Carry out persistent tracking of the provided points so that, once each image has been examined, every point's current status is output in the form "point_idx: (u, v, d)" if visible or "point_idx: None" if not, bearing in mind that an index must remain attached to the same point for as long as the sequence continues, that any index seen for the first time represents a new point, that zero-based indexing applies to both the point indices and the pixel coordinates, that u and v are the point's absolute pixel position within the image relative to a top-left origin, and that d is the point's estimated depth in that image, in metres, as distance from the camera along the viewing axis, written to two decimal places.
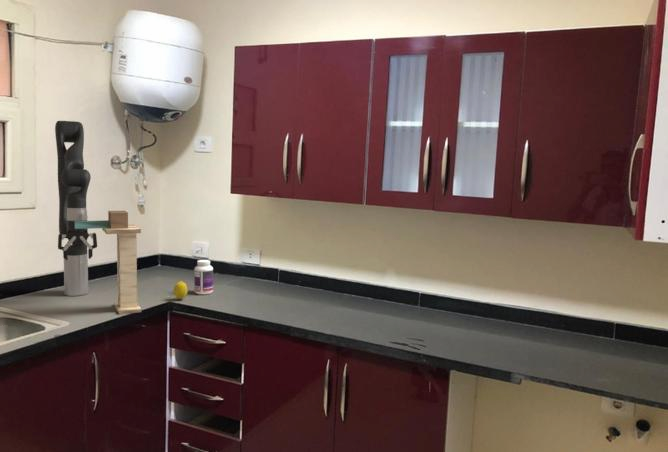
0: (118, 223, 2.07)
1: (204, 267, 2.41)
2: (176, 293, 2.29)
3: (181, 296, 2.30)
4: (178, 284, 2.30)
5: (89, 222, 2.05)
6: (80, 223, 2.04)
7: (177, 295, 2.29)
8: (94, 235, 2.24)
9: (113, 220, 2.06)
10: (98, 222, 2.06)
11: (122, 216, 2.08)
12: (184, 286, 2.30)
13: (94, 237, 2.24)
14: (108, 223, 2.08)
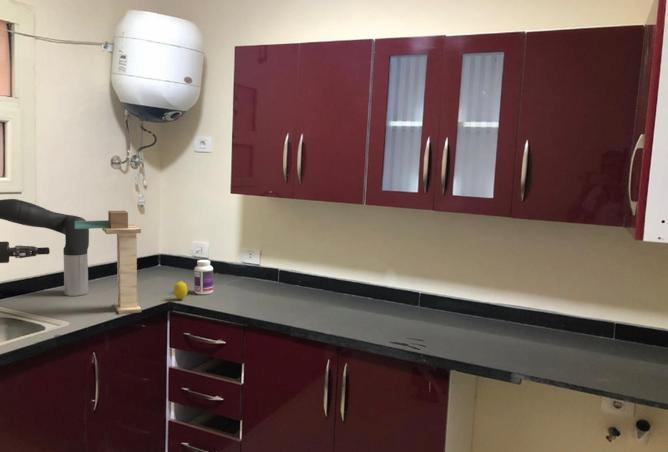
0: (118, 223, 2.07)
1: (204, 267, 2.41)
2: (176, 293, 2.29)
3: (181, 296, 2.30)
4: (178, 284, 2.30)
5: (89, 222, 2.05)
6: (80, 223, 2.04)
7: (177, 295, 2.29)
8: None
9: (113, 220, 2.06)
10: (98, 222, 2.06)
11: (122, 216, 2.08)
12: (184, 286, 2.30)
13: None
14: (108, 223, 2.08)
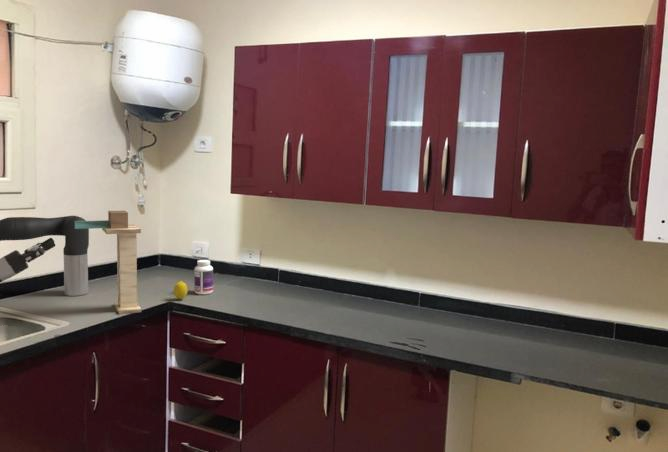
0: (118, 223, 2.07)
1: (204, 267, 2.41)
2: (176, 293, 2.29)
3: (181, 296, 2.30)
4: (178, 284, 2.30)
5: (89, 222, 2.05)
6: (80, 223, 2.04)
7: (177, 295, 2.29)
8: None
9: (113, 220, 2.06)
10: (98, 222, 2.06)
11: (122, 216, 2.08)
12: (184, 286, 2.30)
13: None
14: (108, 223, 2.08)
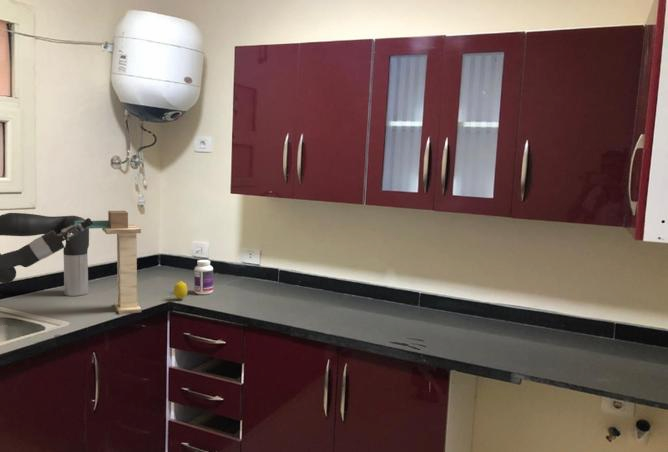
0: (118, 223, 2.07)
1: (204, 267, 2.41)
2: (176, 293, 2.29)
3: (181, 296, 2.30)
4: (178, 284, 2.30)
5: None
6: (80, 223, 2.04)
7: (177, 295, 2.29)
8: (65, 228, 2.08)
9: (113, 220, 2.06)
10: (98, 222, 2.06)
11: (122, 216, 2.08)
12: (184, 286, 2.30)
13: None
14: (108, 223, 2.08)
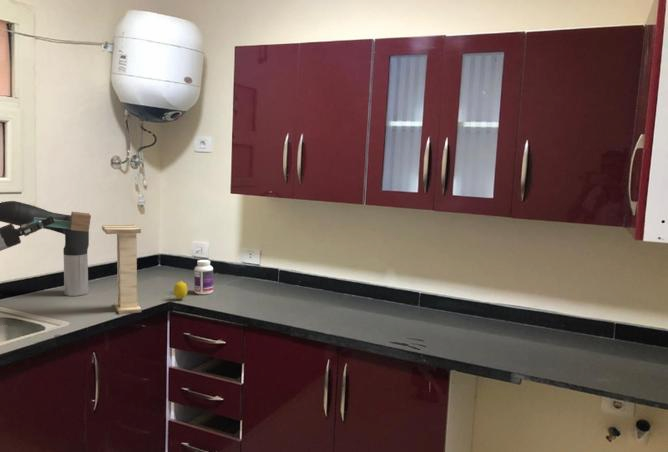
0: (79, 225, 2.01)
1: (204, 267, 2.41)
2: (176, 293, 2.29)
3: (181, 296, 2.30)
4: (178, 284, 2.30)
5: None
6: (39, 220, 1.97)
7: (177, 295, 2.29)
8: None
9: (74, 221, 2.00)
10: (58, 221, 2.00)
11: (84, 218, 2.01)
12: (184, 286, 2.30)
13: None
14: (69, 224, 2.02)
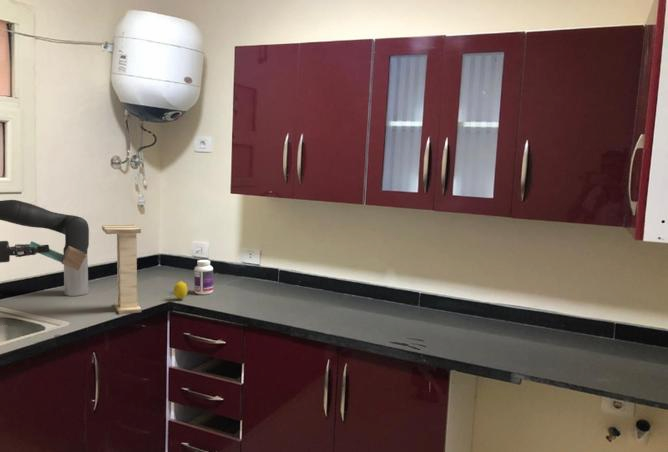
0: (71, 262, 2.01)
1: (204, 267, 2.41)
2: (176, 293, 2.29)
3: (181, 296, 2.30)
4: (178, 284, 2.30)
5: None
6: (35, 245, 1.97)
7: (177, 295, 2.29)
8: (20, 244, 2.01)
9: (68, 257, 2.00)
10: (53, 252, 2.00)
11: (78, 257, 2.02)
12: (184, 286, 2.30)
13: (22, 244, 2.01)
14: (62, 257, 2.02)
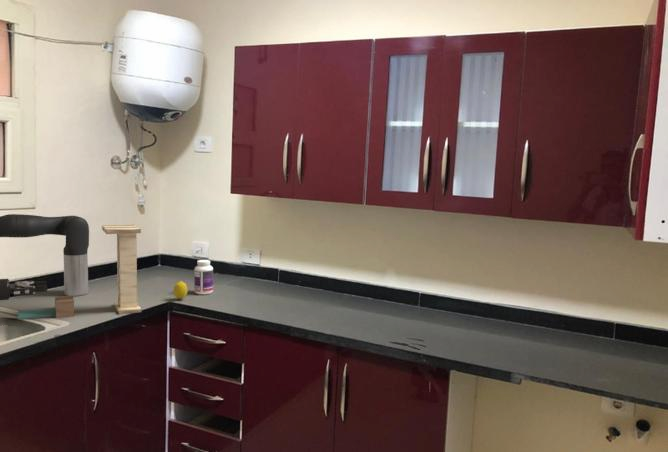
0: (64, 312, 2.02)
1: (204, 267, 2.41)
2: (176, 293, 2.29)
3: (181, 296, 2.30)
4: (178, 284, 2.30)
5: (33, 311, 2.00)
6: (23, 313, 1.98)
7: (177, 295, 2.29)
8: (17, 281, 2.02)
9: (58, 309, 2.01)
10: (43, 311, 2.01)
11: (67, 304, 2.02)
12: (184, 286, 2.30)
13: (19, 281, 2.03)
14: (53, 311, 2.03)
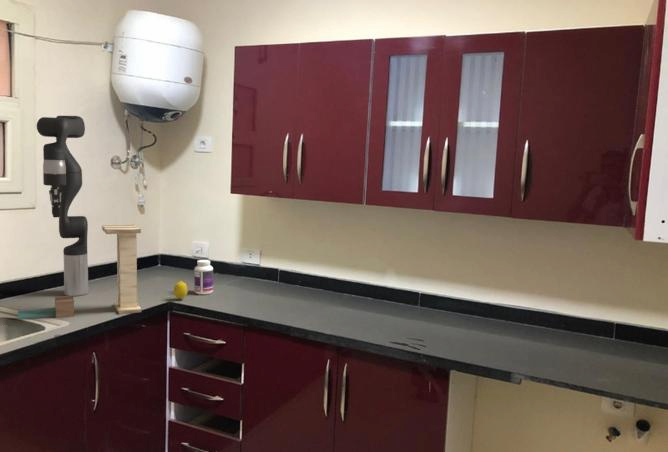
0: (64, 312, 2.02)
1: (204, 267, 2.41)
2: (176, 293, 2.29)
3: (181, 296, 2.30)
4: (178, 284, 2.30)
5: (33, 311, 2.00)
6: (23, 313, 1.98)
7: (177, 295, 2.29)
8: None
9: (58, 309, 2.01)
10: (43, 311, 2.01)
11: (67, 304, 2.02)
12: (184, 286, 2.30)
13: None
14: (53, 311, 2.03)
